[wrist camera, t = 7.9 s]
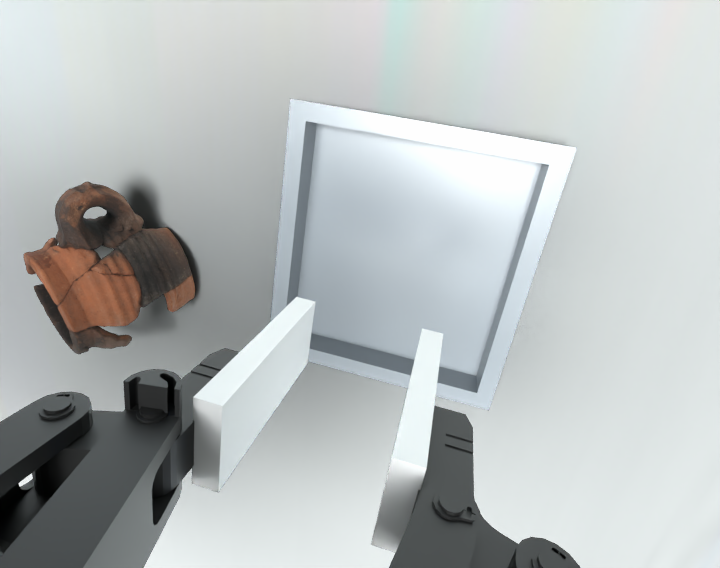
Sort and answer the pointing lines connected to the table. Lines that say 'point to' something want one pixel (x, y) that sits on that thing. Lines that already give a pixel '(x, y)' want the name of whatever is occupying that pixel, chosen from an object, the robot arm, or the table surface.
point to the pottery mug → (105, 269)
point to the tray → (412, 241)
